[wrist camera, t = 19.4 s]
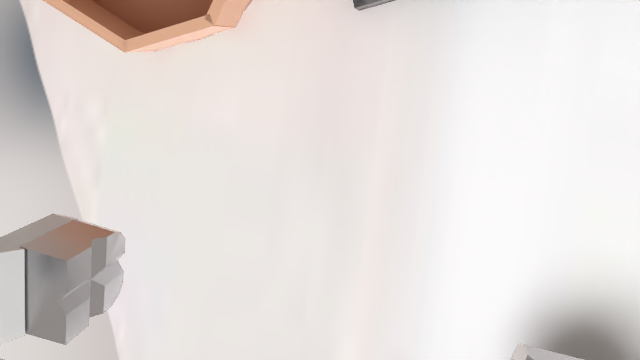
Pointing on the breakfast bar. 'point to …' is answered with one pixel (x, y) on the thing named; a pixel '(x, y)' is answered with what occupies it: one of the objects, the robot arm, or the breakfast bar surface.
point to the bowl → (153, 20)
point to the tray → (368, 3)
